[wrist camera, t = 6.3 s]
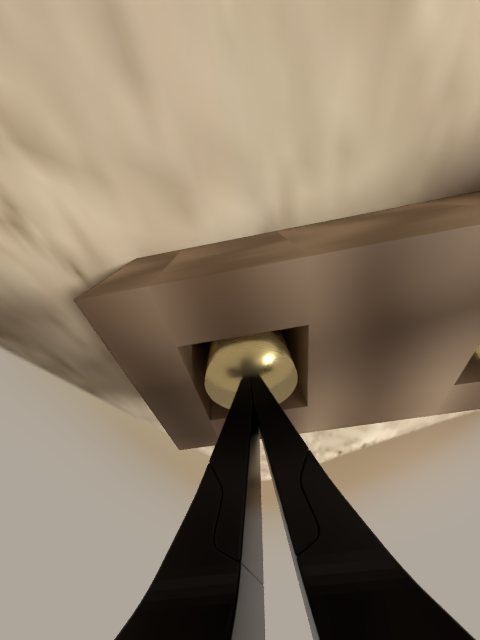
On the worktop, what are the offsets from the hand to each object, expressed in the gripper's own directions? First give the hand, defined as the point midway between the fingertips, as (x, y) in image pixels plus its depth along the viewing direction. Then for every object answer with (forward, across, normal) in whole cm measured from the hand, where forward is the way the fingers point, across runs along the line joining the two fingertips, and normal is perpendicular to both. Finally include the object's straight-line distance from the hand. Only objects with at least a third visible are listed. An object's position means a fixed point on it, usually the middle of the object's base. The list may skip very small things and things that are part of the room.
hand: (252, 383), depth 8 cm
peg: (+5, 0, 0) cm, 5 cm away
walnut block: (+5, -6, 0) cm, 8 cm away
